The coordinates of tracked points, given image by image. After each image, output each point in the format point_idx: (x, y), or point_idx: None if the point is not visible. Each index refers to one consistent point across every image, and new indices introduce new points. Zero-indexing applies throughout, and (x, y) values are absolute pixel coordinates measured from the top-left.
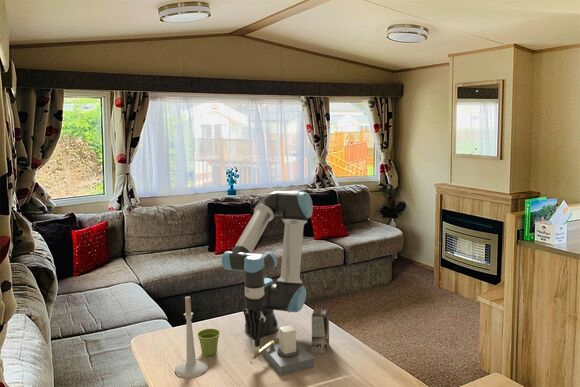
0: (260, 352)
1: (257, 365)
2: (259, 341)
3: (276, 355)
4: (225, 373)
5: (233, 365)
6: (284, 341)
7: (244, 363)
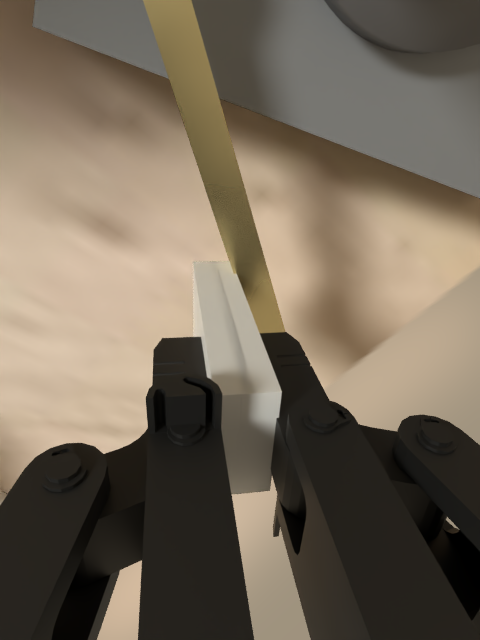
0: (268, 276)
1: (194, 222)
2: (317, 383)
3: (367, 77)
4: (131, 442)
5: (60, 360)
6: None
7: (85, 283)
